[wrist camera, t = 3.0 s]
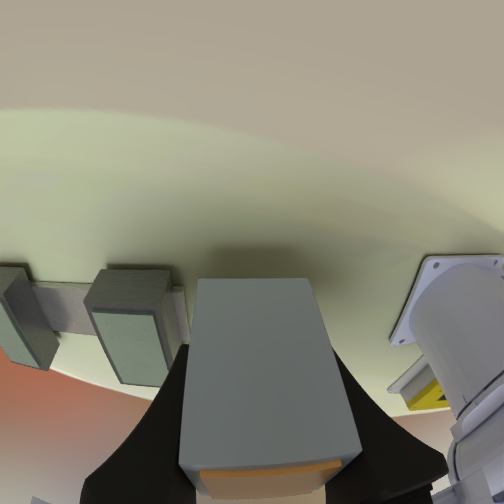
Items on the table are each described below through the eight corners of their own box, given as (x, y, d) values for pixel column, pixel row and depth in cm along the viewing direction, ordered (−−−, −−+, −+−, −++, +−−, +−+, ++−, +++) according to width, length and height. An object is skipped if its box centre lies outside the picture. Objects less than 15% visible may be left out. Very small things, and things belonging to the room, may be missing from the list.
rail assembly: (180, 263, 15) (170, 308, 12) (192, 349, 19) (188, 391, 16) (-12, 261, 14) (-37, 291, 11) (23, 332, 18) (6, 362, 15)
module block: (307, 277, 12) (364, 456, 5) (293, 353, 15) (319, 493, 8) (198, 278, 12) (178, 470, 5) (206, 355, 14) (201, 500, 8)
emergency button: (462, 413, 25) (394, 422, 22) (450, 388, 29) (381, 388, 25) (513, 365, 21) (466, 360, 17) (497, 341, 25) (443, 325, 21)
